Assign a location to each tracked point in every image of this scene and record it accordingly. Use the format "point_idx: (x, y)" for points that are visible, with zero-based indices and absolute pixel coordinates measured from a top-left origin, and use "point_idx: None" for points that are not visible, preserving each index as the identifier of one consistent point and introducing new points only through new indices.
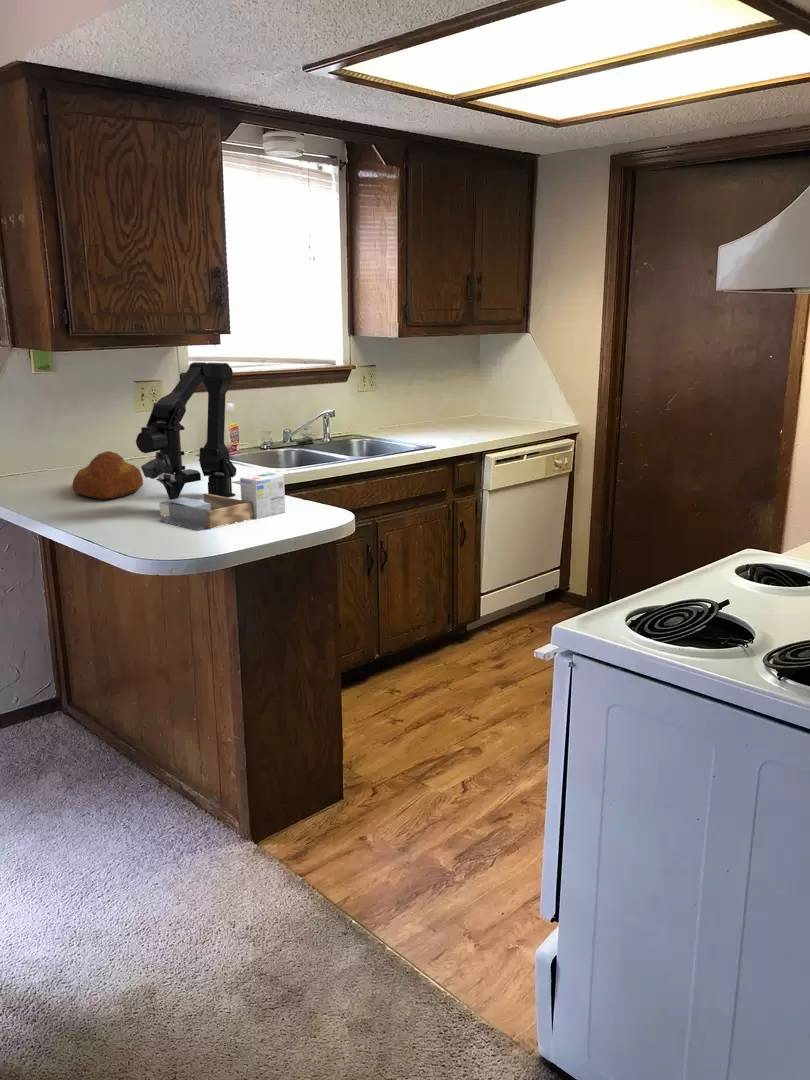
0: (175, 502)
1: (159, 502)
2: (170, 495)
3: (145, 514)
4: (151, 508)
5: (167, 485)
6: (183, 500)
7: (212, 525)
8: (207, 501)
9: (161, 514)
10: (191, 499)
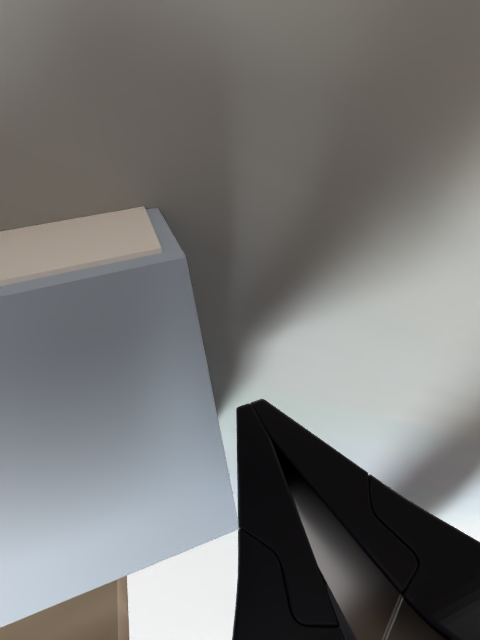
0: None
1: (179, 255)
2: (292, 466)
3: (287, 71)
4: (428, 253)
5: (414, 617)
6: (80, 531)
7: None
8: (63, 630)
9: (126, 212)
10: (87, 585)
